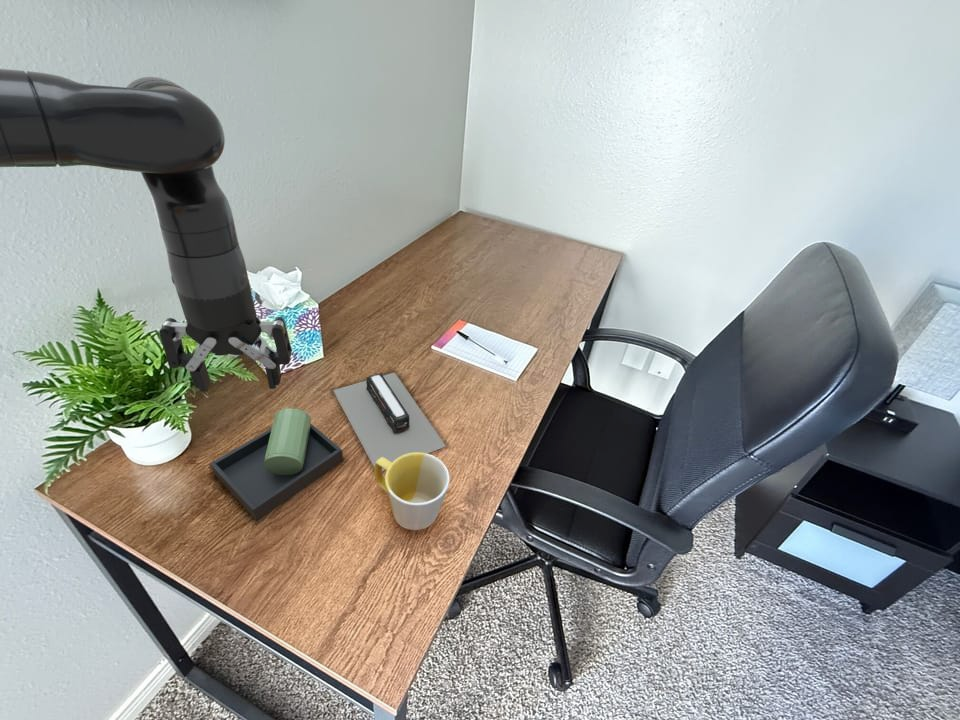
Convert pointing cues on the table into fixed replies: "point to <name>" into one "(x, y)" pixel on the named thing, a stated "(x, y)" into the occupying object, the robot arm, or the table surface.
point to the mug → (414, 487)
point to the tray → (268, 489)
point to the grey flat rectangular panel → (387, 418)
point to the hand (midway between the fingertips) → (240, 386)
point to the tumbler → (287, 442)
